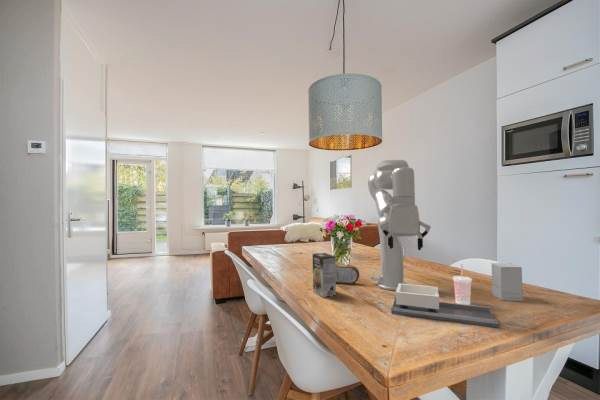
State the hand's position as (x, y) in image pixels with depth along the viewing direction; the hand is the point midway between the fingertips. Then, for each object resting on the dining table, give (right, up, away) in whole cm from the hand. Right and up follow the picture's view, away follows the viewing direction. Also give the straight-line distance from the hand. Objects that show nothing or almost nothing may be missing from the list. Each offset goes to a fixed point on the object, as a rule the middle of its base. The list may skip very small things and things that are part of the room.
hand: (405, 248), depth 102 cm
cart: (+2, -19, -5) cm, 20 cm away
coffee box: (-28, -21, +15) cm, 38 cm away
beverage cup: (+22, -20, +1) cm, 30 cm away
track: (+9, -20, -8) cm, 23 cm away
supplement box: (+41, -20, +6) cm, 46 cm away
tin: (-18, -22, +30) cm, 41 cm away
